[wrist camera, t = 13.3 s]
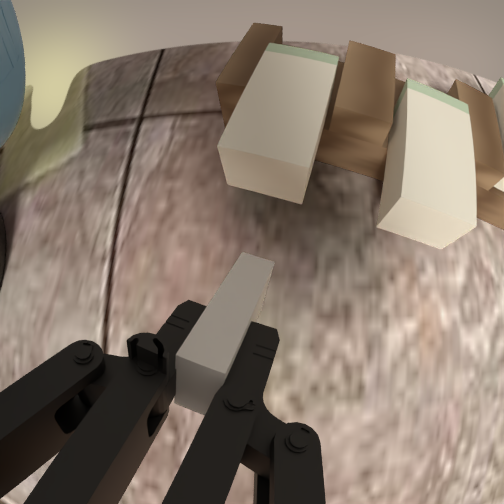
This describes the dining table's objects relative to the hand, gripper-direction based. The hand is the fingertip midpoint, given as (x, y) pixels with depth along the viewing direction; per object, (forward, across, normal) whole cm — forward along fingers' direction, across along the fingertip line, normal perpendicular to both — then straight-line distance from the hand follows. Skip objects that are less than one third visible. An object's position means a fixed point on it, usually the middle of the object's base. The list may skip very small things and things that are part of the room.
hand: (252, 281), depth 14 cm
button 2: (+9, -1, +6) cm, 10 cm away
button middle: (+9, +8, +6) cm, 13 cm away
